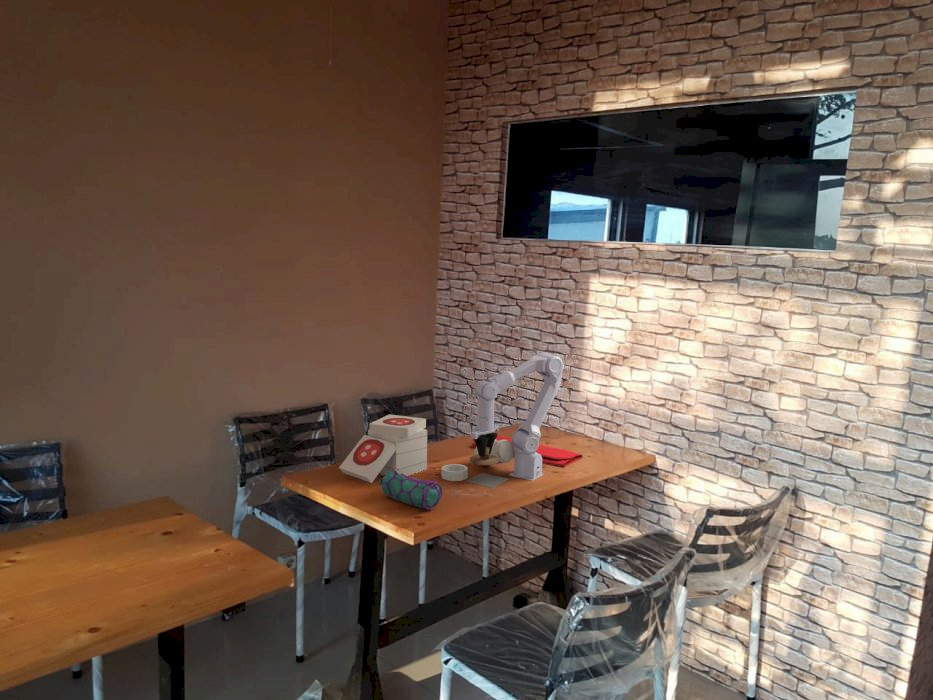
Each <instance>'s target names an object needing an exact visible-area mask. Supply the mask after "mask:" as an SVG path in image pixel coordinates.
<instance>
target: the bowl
mask: <svg viewBox="0 0 933 700" xmlns="http://www.w3.org/2000/svg"><path fill="white" fill-rule="evenodd" d="M468 469H469V467H468V466H466V465H464V464H460V463H459V464H458V463H452V464H451V463H449V464H445V465H442V467H441V478H442V480H444V481H448V482H449V481H450V482H460V481H461V482H462V481H466V480H468V471H469V470H468Z"/></svg>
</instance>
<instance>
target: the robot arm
mask: <svg viewBox="0 0 933 700" xmlns="http://www.w3.org/2000/svg"><path fill="white" fill-rule="evenodd" d="M564 369H565V366H564V362H563V360H562V358H561V357H559V356H557V355H553V354H549V353H547V352H544V351H543V352H540V353H537V354H535V355H533V356H532V357H531V358H529V359H528V360H527V361H524V363H522V364H520V365H518V366H517V367H514V369H511V370H510V371H509V370H506V369H505V370H502V369H501V370H500V371H498V373H497V374H495V375H494V376H492V377H490V376H489V377H488V378H487V380H480V381H478V382H477V384H476V386H475V388H474V393H475V395H476V396H477V402H476V403H477V407H476V410H477V411H476V413H477V414H476V416H477V417H476V426H474V429H473V431H472V432H471V433H470V439H472V440H473V441H474V442H475V444H476V446H477V450H478V454H479V456H482V457H485V454H486V446H488V447H489V454H491V451H492V447H493V444H494V441H495V439H496V437H497V435H498V433H497V432H499V431H500V424H497V423H495V399H496V398H497V396H498V394H500V393H501V392H503V391H505V390H506V389H509V388H510V387H512V386H514V384H515V381H516V380H518V379H520V378H522V377H524V376H526V375H529V374H531V373H533V372H539V374H540V375H541V377H542V378H543V381H544V382H543V384H542V386H541V388H540V391H539V393H538V394H537V397H536V398H535V401H534V403H533V405H532V407H531V409H530V411H529V413H528V416H527V417H526V420H525V421H524V422H522V423H520V425H518V428H517V429H516V430H515V431H514V432H513V433H512V435H511V437H510V438H511V440H512V443H513V445H514V446H515V448H514V449H515V454H514V458H513V459H514V460H513V461H514V462H513V472H511V473H509V474H508V475H509V476H511V477H514V478H519V479H523V480H527V481H535V480H536V479H538V478H540V477H542V476H544V473H543V463H542V456H541V455H540V454H538V453H536V452H535V451H536V450H537V449H538V447H539V445H540V439H541V437H542V434H541V429H540V428H541V426H542V424H543V422H544V420H545V418H546V417H547V414H548V412H549V410H550V407H551V405H552V404H553V401H554V399H555V397H556V395H557V393H558V391H559V389H560V387H561V384H562V376H563V371H564ZM495 431H496V432H495ZM474 442H473V443H474Z"/></svg>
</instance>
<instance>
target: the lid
mask: <svg viewBox="0 0 933 700" xmlns="http://www.w3.org/2000/svg"><path fill="white" fill-rule="evenodd" d="M469 462H470V463H472V464H475V465H478V466H483V465H486V466H494V465H498V464H497V463H499V458H498V457H496V456H493V455H489V447H488V446H486V454H485V457H482V456H479V455H475V454H474V455H470V456H469Z"/></svg>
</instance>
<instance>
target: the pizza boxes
mask: <svg viewBox="0 0 933 700" xmlns="http://www.w3.org/2000/svg"><path fill="white" fill-rule="evenodd" d="M426 427H427V418H424V417H423V418H422V417H414V416H406V415H395V414H390V413H389V414H387V415H385V416H383V417H381V418H378V419H376V420H375V421H373V422H370V423H369V429H367V435H366V434H364V435H363V436H362V437H361V438H360V439H359V441H358V442H357V443H356V445H355V446H354V447H353V449H352V451H351V452H350V453H349V454H348V455H347V457H346V458H345V459H344V461H342V463H341V464H340V465H339V467H338V469H340V470H341V472H342V473H343V474H345V475H348V476H351V477H353V478H357V479H360V480H361V481H364V482H367V483H371V484H372V483H373V482H374V480H375V479H376V478H377V477H378V475H382V474H383V475H382V476H384V475H385V474H386V473H387V472H388V471H390V470H392V469H394V468H397V469H398V470H399V471H400V472H401V473H402V474H404V475H406V476H408V475H409V476H411V474H412V475H415V474H414V473H416V474H418V472H419V473H421V471H422V472H424V471H423V470H425V471H427V470H428V429H425V428H426ZM426 469H427V470H426ZM379 473H380V474H379ZM409 476H408V477H409Z"/></svg>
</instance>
